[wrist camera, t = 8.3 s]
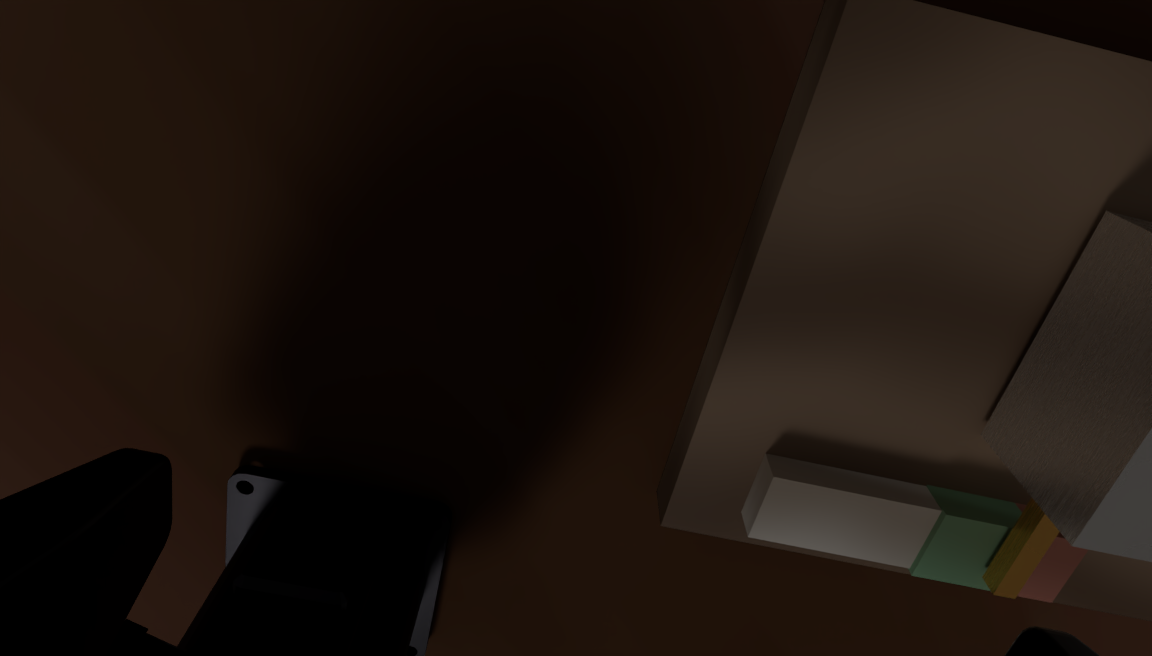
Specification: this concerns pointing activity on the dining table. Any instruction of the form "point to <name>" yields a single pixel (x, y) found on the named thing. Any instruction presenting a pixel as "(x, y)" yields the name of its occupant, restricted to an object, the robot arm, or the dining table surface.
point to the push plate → (1083, 412)
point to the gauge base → (909, 296)
